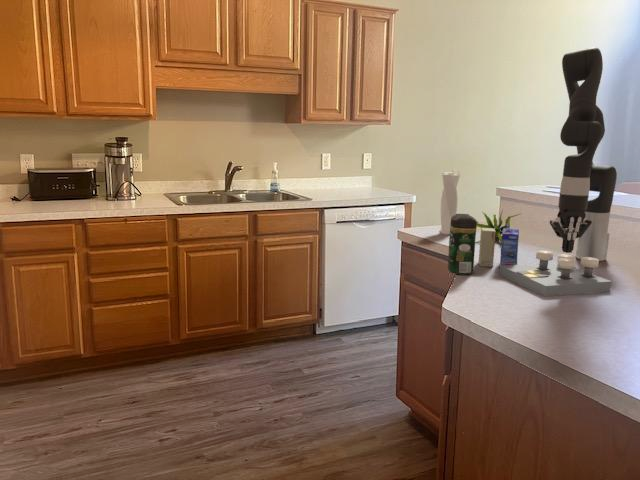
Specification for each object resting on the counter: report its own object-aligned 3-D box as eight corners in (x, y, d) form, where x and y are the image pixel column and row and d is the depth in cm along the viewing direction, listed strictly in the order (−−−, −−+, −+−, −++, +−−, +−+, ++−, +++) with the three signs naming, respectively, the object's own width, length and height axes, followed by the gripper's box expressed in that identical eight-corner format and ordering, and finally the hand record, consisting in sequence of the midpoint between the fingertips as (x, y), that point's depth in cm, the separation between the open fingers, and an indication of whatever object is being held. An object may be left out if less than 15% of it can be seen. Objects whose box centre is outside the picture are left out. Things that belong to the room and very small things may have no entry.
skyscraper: (459, 236, 236) (464, 169, 230) (440, 235, 236) (444, 169, 230) (455, 232, 244) (459, 168, 238) (436, 231, 244) (440, 167, 238)
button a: (565, 269, 178) (567, 254, 177) (576, 273, 173) (578, 257, 172) (552, 270, 177) (554, 254, 175) (563, 274, 172) (565, 258, 171)
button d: (566, 274, 166) (568, 257, 165) (577, 278, 161) (579, 261, 160) (552, 275, 165) (554, 258, 164) (563, 279, 160) (565, 262, 159)
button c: (544, 265, 175) (546, 250, 174) (554, 269, 171) (556, 253, 170) (531, 266, 174) (533, 250, 173) (541, 270, 170) (543, 254, 169)
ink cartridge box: (499, 262, 192) (503, 221, 189) (516, 264, 190) (520, 222, 187) (498, 269, 182) (502, 226, 179) (516, 271, 181) (520, 227, 178)
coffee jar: (445, 267, 184) (449, 211, 180) (470, 268, 184) (474, 212, 180) (449, 275, 175) (453, 216, 171) (474, 276, 174) (479, 217, 170)
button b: (588, 272, 168) (590, 256, 167) (600, 277, 164) (602, 260, 162) (575, 273, 167) (577, 257, 166) (587, 277, 162) (589, 261, 161)
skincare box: (493, 267, 185) (496, 231, 182) (479, 266, 186) (482, 230, 183) (491, 262, 191) (494, 227, 188) (478, 261, 192) (481, 227, 189)
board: (559, 271, 182) (560, 261, 181) (610, 291, 161) (611, 280, 160) (500, 275, 176) (500, 264, 175) (544, 296, 155) (546, 285, 155)
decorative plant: (460, 247, 215) (462, 209, 212) (490, 235, 238) (493, 201, 235) (506, 254, 204) (509, 214, 201) (532, 241, 227) (536, 205, 224)
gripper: (584, 190, 163) (577, 248, 167) (545, 191, 160) (539, 250, 163) (603, 194, 156) (595, 254, 160) (563, 194, 153) (556, 256, 156)
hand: (567, 252), depth 161 cm, fingers closed
